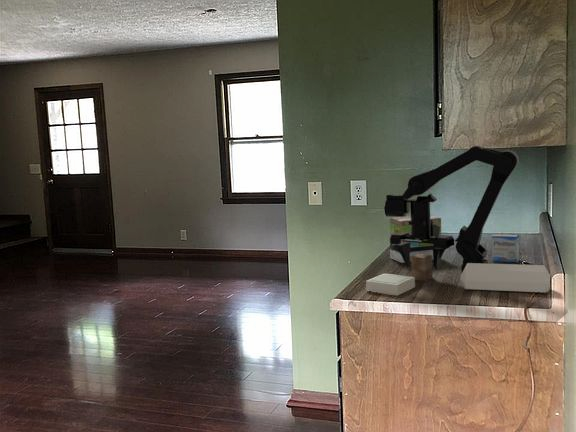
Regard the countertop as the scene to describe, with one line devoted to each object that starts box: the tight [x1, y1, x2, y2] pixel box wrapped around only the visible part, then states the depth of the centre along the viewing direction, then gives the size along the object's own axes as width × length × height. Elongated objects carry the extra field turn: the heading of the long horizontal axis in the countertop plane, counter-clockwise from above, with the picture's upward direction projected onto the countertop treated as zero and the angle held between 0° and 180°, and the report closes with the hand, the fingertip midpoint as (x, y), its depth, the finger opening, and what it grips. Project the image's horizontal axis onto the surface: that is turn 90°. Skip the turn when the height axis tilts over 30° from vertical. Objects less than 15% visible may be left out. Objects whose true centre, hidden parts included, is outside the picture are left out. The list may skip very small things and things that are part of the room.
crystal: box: [459, 263, 551, 294], centre depth 163 cm, size 7×7×24 cm
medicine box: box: [491, 233, 520, 264], centre depth 196 cm, size 8×4×9 cm, turn 62°
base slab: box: [365, 273, 416, 297], centre depth 170 cm, size 10×10×3 cm
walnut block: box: [410, 254, 433, 282], centre depth 180 cm, size 4×4×7 cm
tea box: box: [389, 214, 442, 264], centre depth 207 cm, size 15×10×15 cm
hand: (422, 268), depth 180 cm, fingers open, 9 cm apart
